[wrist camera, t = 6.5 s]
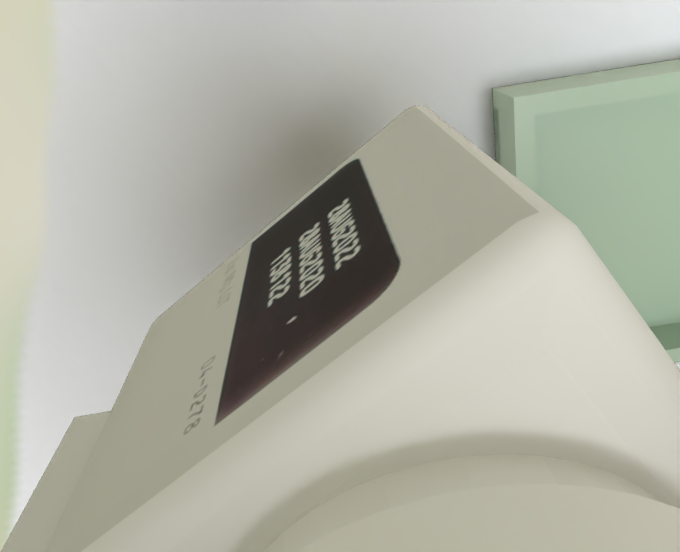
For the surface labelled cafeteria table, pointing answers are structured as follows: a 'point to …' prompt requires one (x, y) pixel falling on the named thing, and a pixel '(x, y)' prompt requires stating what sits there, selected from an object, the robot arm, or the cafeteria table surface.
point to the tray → (608, 172)
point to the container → (394, 381)
